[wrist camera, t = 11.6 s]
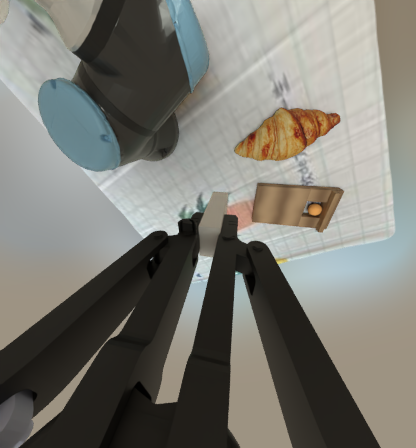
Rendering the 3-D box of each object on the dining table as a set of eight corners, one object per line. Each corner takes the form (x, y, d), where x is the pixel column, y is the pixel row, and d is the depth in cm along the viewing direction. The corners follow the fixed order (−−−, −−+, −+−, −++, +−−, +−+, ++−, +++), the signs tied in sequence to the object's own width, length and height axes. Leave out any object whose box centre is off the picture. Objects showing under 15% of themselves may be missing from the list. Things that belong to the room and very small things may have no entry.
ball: (307, 216, 43) (321, 218, 42) (311, 206, 41) (325, 207, 40) (304, 211, 45) (317, 212, 44) (308, 201, 43) (321, 202, 43)
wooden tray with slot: (251, 217, 49) (252, 225, 45) (257, 182, 43) (259, 188, 40) (322, 224, 46) (329, 233, 42) (339, 187, 40) (348, 194, 36)
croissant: (238, 159, 44) (240, 179, 40) (228, 124, 37) (229, 145, 32) (327, 130, 37) (341, 152, 33) (339, 79, 29) (359, 98, 25)
